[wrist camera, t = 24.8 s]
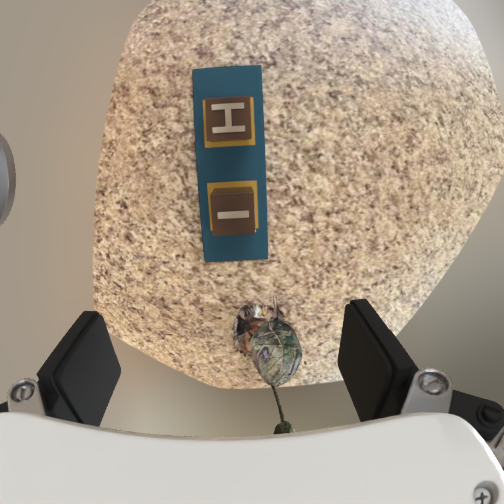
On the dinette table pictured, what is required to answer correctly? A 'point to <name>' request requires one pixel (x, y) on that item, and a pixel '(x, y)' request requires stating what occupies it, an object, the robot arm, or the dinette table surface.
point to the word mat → (231, 161)
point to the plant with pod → (269, 348)
